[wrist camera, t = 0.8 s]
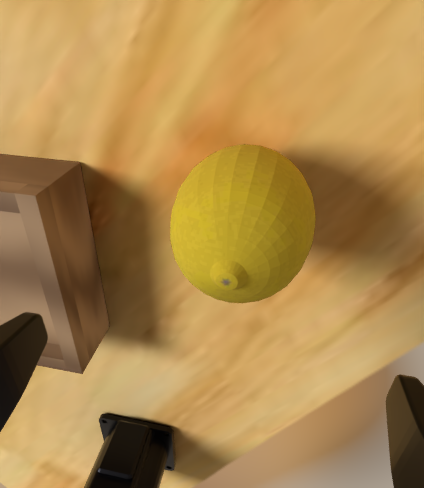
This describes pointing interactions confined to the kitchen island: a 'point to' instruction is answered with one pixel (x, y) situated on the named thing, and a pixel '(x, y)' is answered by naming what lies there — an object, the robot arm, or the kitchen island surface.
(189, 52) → the kitchen island surface
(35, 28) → the kitchen island surface
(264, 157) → the lemon
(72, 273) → the walnut base
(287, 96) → the kitchen island surface
